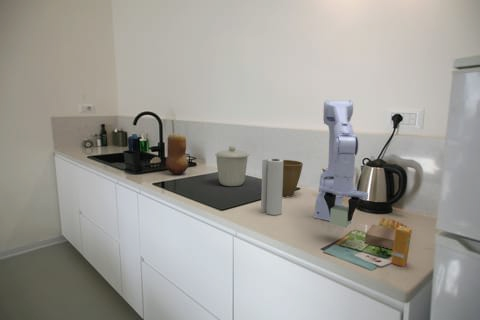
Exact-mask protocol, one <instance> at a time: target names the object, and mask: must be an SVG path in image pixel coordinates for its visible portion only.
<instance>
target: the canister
mask: <svg viewBox="0 0 480 320" xmlns="http://www.w3.org/2000/svg"><path fill="white" fill-rule="evenodd" d="M214 155H215V157H216V167H217V175H218V181H219V183H220V185H222V186H226V187H238V186H242V185H243V184H244V183H245V180H246V173H247V166H248V158H249V156H250V154H249V153H248V152H246V151H243V150H236V147H235V146H234V145H229V147H228V149H227V150H226V149H225V150H220V151H218V152H216V153H215V154H214Z"/></svg>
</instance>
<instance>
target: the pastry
mask: <svg viewBox="0 0 480 320" xmlns="http://www.w3.org/2000/svg"><path fill="white" fill-rule="evenodd" d="M378 226H382V227H387V228H392V229H396V228H398V227H399V226H404V227H407V228H409V226H407V225H405V224H403V223H401V222H399V221H397V220H395V219H390V218H385V217H381V218H380V220H379V221H378Z"/></svg>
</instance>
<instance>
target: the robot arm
mask: <svg viewBox="0 0 480 320" xmlns="http://www.w3.org/2000/svg"><path fill="white" fill-rule="evenodd" d="M353 113H354V102H353V101H352V100H328V99H326V100H325V101H324V102H323V116H322V117H323V120H322V121H323V124H324V125H327V126H328V131H329V133H328V134H329V139H328V163H327V164H328V166H327V169H326V170H325V171H323V172H322V173H321V174H320V179H319V186H318V194H317V196H316V198H315V209H314V216H313V218H315V219H319V220H323V221H329V222H330V213H331V208H332V207H333V206H335V205H341V206H343V202H344V198H345V197H347V198H349V199H348V200H347V203H348V207H349V212H348V221H351V222H352V220H353V217H354V213H355V210H356V209H357V207H358V206H359V204H360V201H361V200H362V201H368V198H369V192H365V191H362V190H361V191H360V190H356V189H354V176H355V161H356V156H357V155H358V153H359V138H358V136H357V135H355V134H354V130H353V125H352V123H351V119H352V116H353Z"/></svg>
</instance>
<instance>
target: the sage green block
mask: <svg viewBox="0 0 480 320" xmlns="http://www.w3.org/2000/svg"><path fill="white" fill-rule="evenodd" d="M348 212H349V206H346V205H342V206H341V205H335V206H333V207H332V208H331V213H330V221H329V225H334V226H337V227H342V228H347V227H348V226H349V225H351V223H352V220H351V221H348Z"/></svg>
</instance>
